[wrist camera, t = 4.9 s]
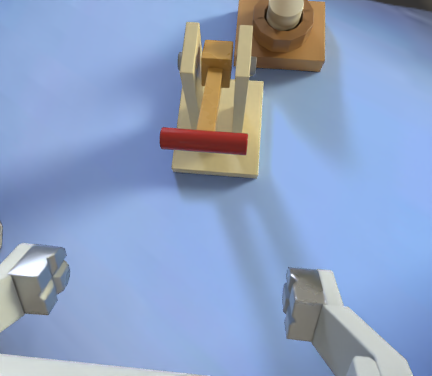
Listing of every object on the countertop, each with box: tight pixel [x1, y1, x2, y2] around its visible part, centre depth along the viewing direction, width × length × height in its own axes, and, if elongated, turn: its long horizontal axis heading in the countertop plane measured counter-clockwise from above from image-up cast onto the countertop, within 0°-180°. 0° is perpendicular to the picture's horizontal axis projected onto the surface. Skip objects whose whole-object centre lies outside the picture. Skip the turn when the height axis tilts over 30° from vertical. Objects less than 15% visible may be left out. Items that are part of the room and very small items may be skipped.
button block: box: [234, 0, 325, 72], centre depth 38 cm, size 10×8×4 cm
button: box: [267, 0, 304, 31], centre depth 36 cm, size 4×4×2 cm
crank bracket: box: [172, 22, 264, 178], centre depth 31 cm, size 11×9×13 cm
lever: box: [160, 40, 248, 155], centre depth 23 cm, size 11×5×2 cm, turn 175°
